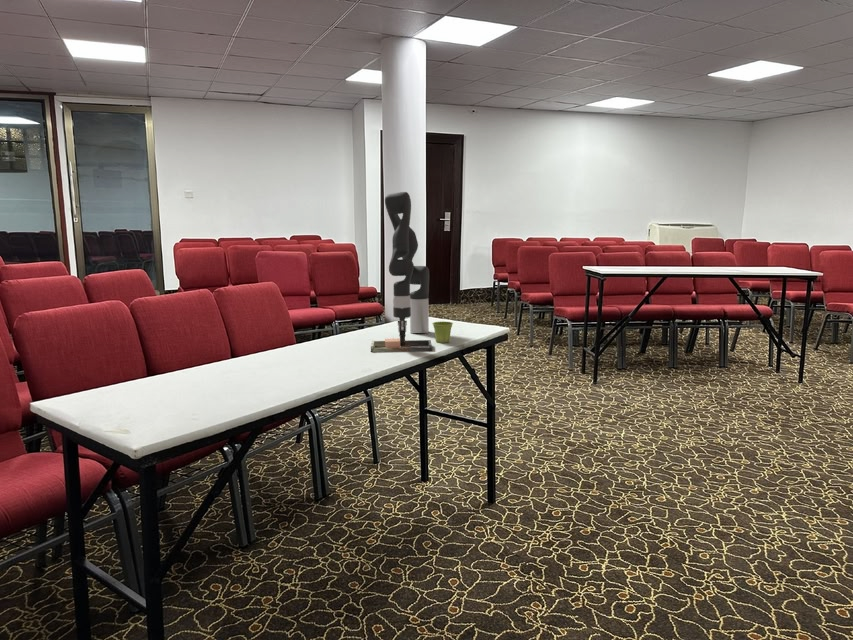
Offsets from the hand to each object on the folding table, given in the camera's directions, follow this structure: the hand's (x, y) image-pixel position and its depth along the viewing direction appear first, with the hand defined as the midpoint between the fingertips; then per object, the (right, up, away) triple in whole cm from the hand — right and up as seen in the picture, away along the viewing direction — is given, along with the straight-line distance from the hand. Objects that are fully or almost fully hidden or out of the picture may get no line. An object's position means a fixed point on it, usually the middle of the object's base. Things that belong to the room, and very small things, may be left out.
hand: (402, 345), depth 254 cm
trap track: (-1, -2, 0) cm, 2 cm away
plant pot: (+18, +1, +15) cm, 23 cm away
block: (-4, -2, 0) cm, 5 cm away
